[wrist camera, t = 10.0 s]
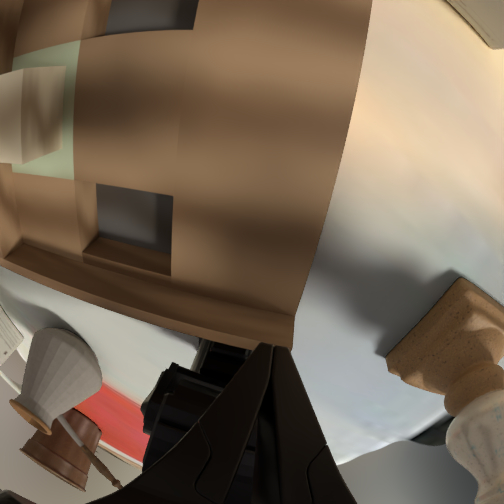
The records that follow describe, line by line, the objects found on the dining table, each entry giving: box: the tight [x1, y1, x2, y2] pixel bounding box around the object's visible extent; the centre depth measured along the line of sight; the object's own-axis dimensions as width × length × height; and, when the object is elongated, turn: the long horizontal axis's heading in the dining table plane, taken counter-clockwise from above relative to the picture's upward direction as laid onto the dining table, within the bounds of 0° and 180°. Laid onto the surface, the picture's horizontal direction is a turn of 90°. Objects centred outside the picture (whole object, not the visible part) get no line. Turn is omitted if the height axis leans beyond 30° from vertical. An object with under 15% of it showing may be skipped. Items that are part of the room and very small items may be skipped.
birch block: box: [0, 66, 66, 165], centre depth 14 cm, size 6×6×4 cm
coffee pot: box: [9, 328, 123, 489], centre depth 28 cm, size 21×12×15 cm, turn 49°
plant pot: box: [19, 408, 102, 492], centre depth 43 cm, size 16×16×16 cm
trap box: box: [0, 0, 372, 353], centre depth 15 cm, size 26×26×6 cm
